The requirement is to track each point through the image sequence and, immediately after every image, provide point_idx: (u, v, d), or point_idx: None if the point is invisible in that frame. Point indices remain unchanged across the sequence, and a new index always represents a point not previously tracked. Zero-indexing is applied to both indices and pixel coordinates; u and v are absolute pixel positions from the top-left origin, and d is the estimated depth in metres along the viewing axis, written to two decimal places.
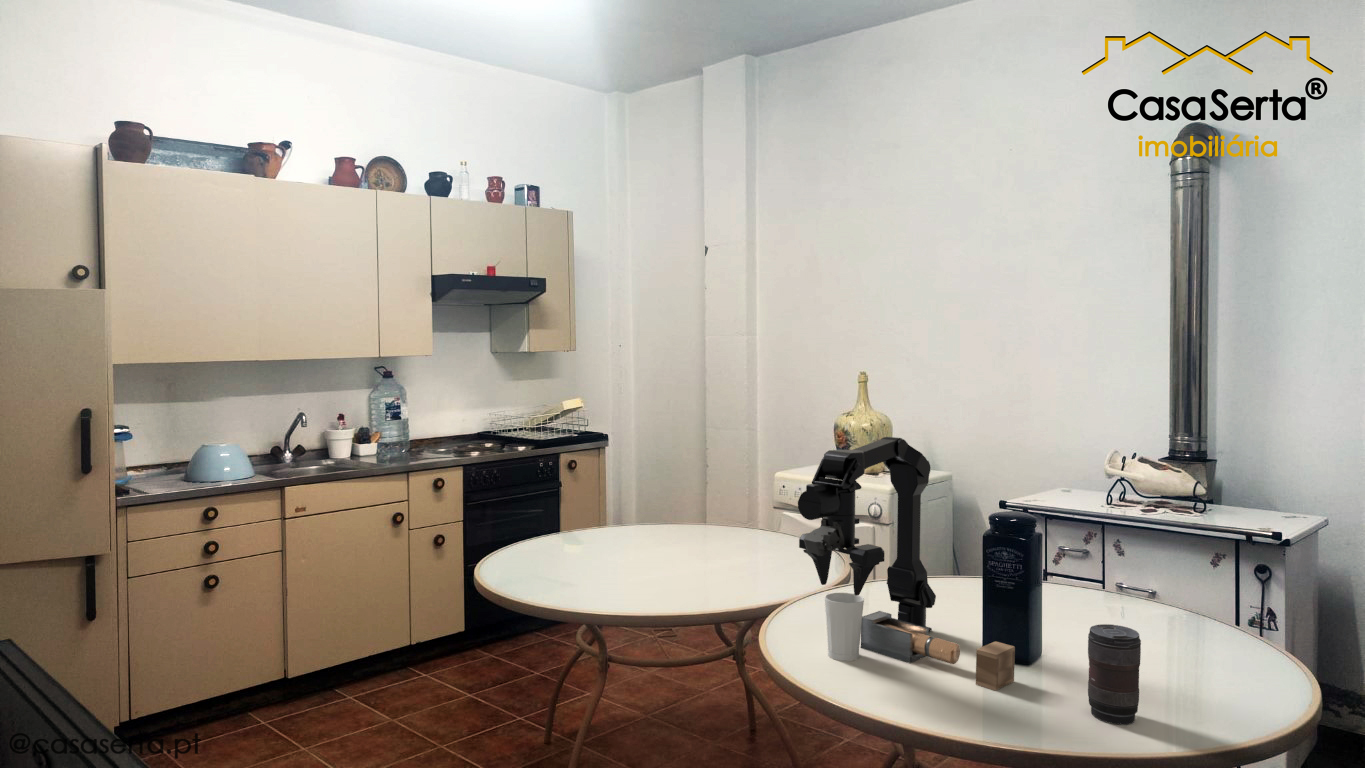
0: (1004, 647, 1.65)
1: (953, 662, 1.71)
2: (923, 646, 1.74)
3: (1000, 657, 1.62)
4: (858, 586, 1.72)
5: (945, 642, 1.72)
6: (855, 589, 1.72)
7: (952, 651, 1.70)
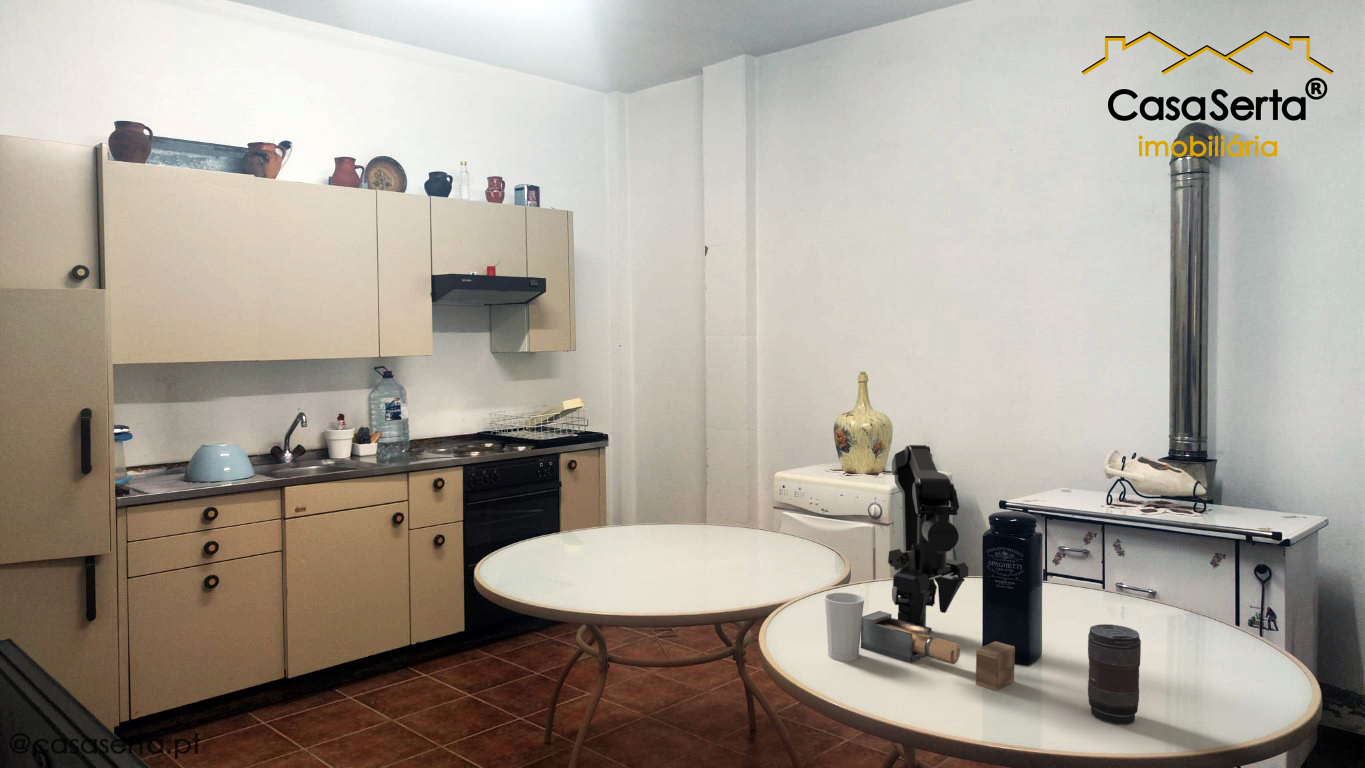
0: (1004, 647, 1.65)
1: (953, 662, 1.71)
2: (923, 646, 1.74)
3: (1000, 657, 1.62)
4: (913, 612, 1.72)
5: (945, 642, 1.72)
6: None
7: (952, 651, 1.70)
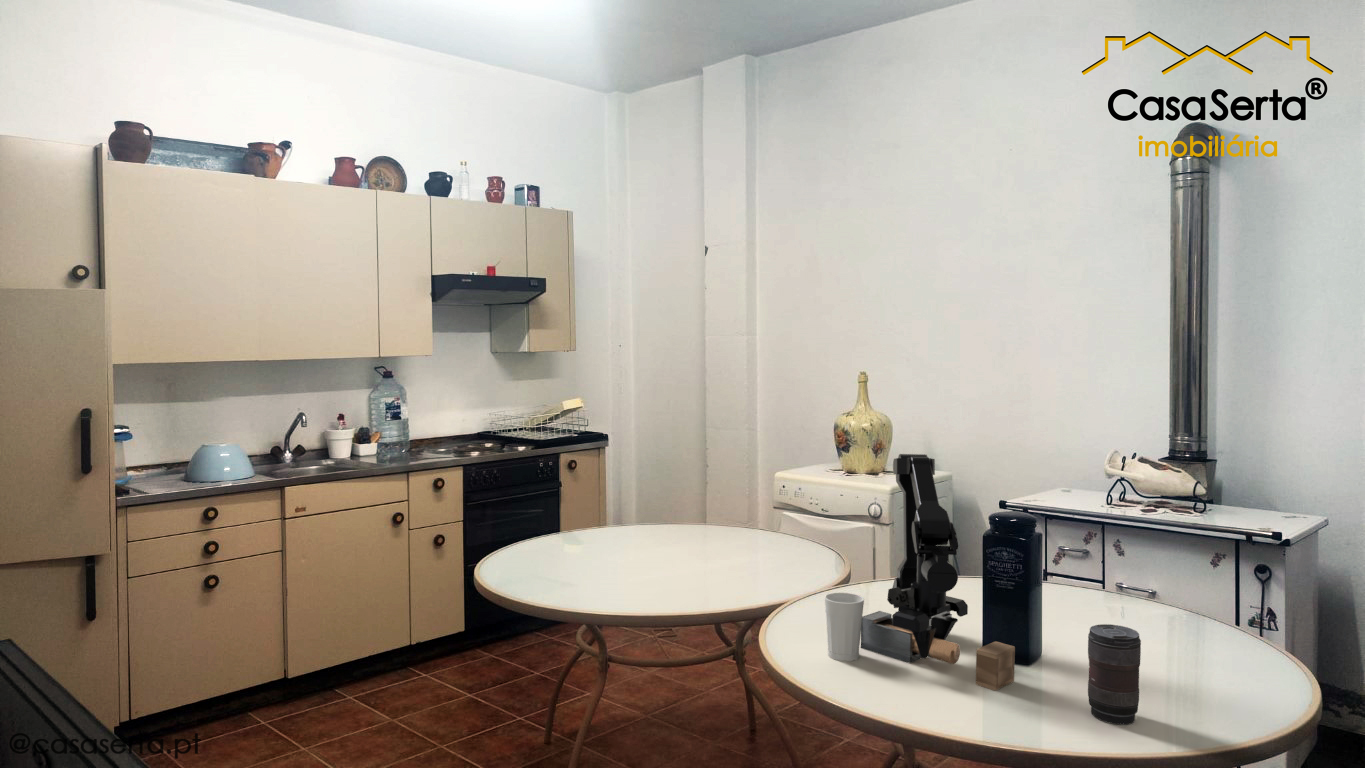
0: (1004, 647, 1.65)
1: (953, 662, 1.71)
2: None
3: (1000, 657, 1.62)
4: (920, 648, 1.73)
5: (945, 642, 1.72)
6: None
7: (952, 651, 1.70)
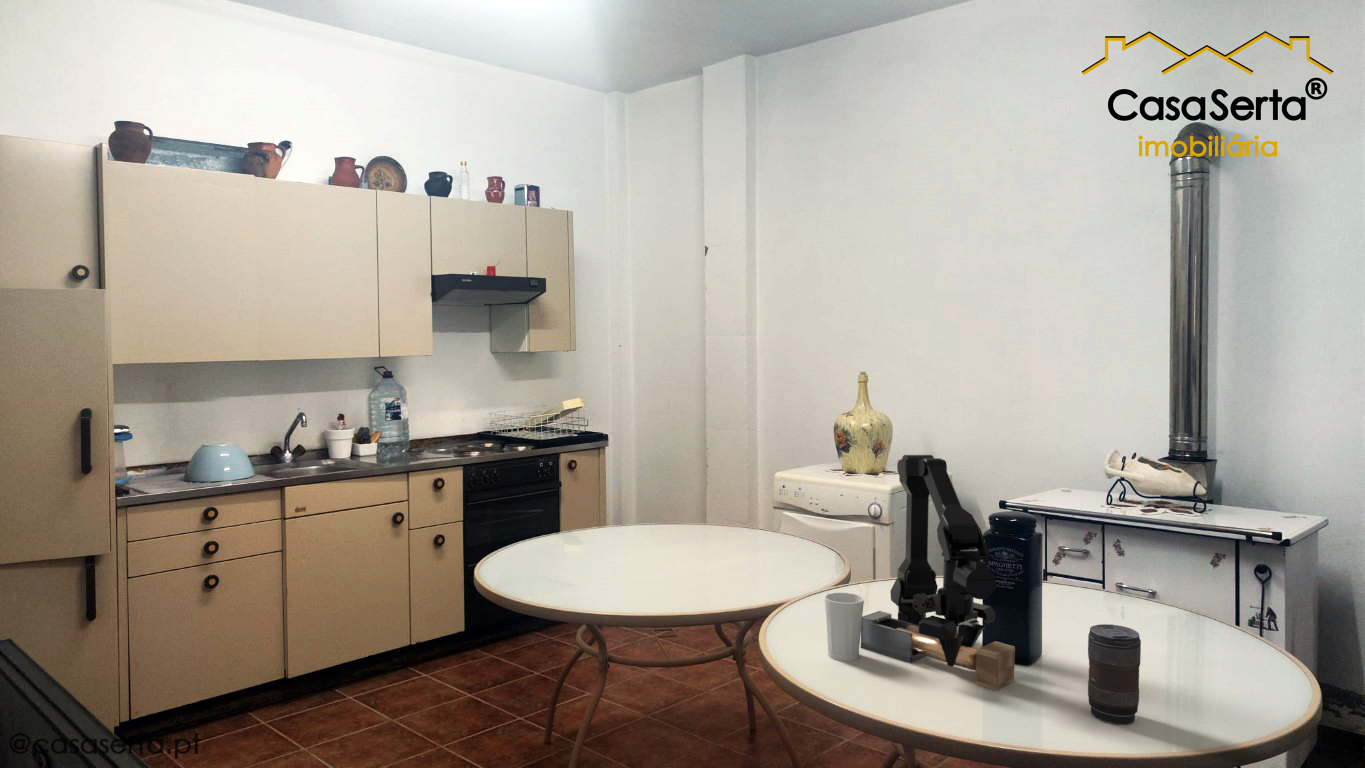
0: (1004, 647, 1.65)
1: None
2: None
3: (1000, 657, 1.62)
4: (946, 656, 1.69)
5: (972, 649, 1.68)
6: None
7: None
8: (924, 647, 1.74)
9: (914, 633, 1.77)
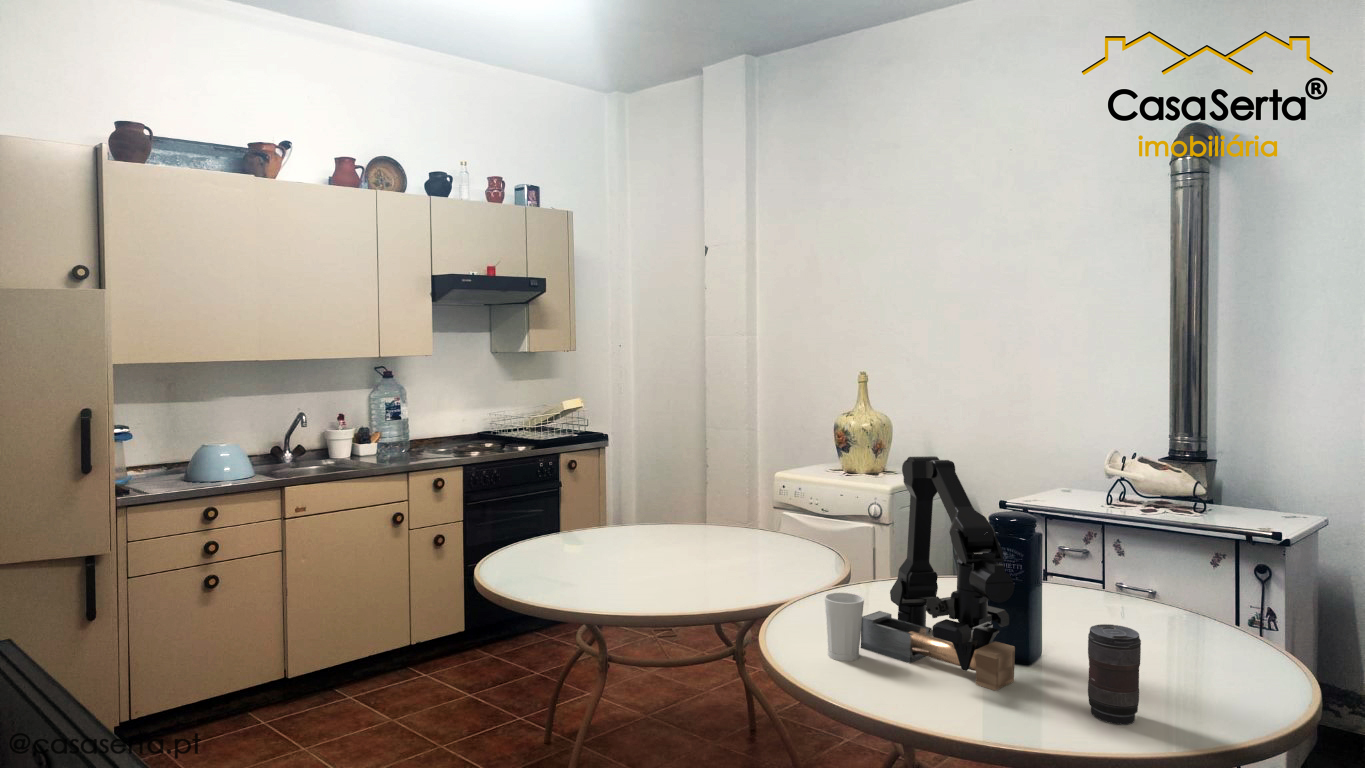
0: (1004, 647, 1.65)
1: None
2: None
3: (1000, 657, 1.62)
4: (960, 660, 1.67)
5: None
6: None
7: None
8: (937, 651, 1.72)
9: (927, 637, 1.75)
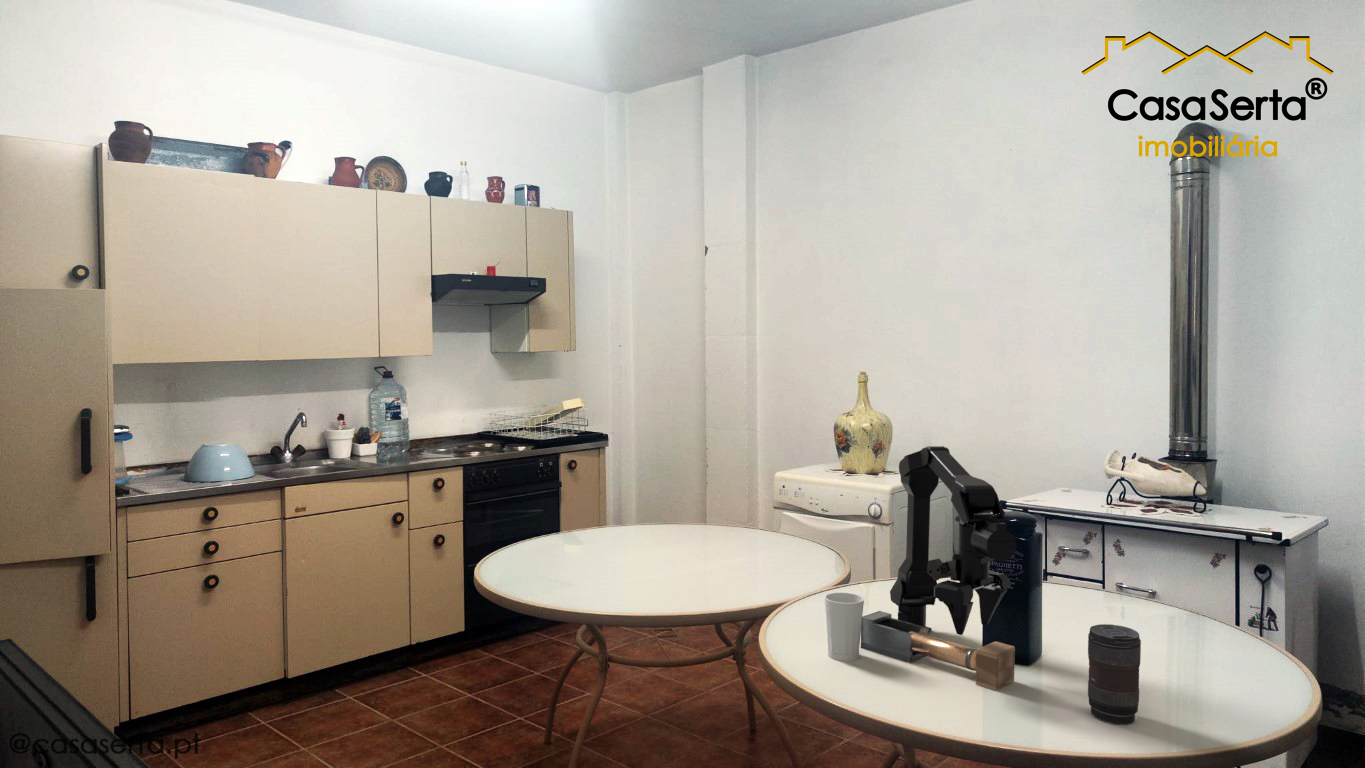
0: (1004, 647, 1.65)
1: None
2: (964, 658, 1.67)
3: (1000, 657, 1.62)
4: (955, 624, 1.65)
5: None
6: None
7: None
8: (937, 651, 1.72)
9: (927, 637, 1.75)
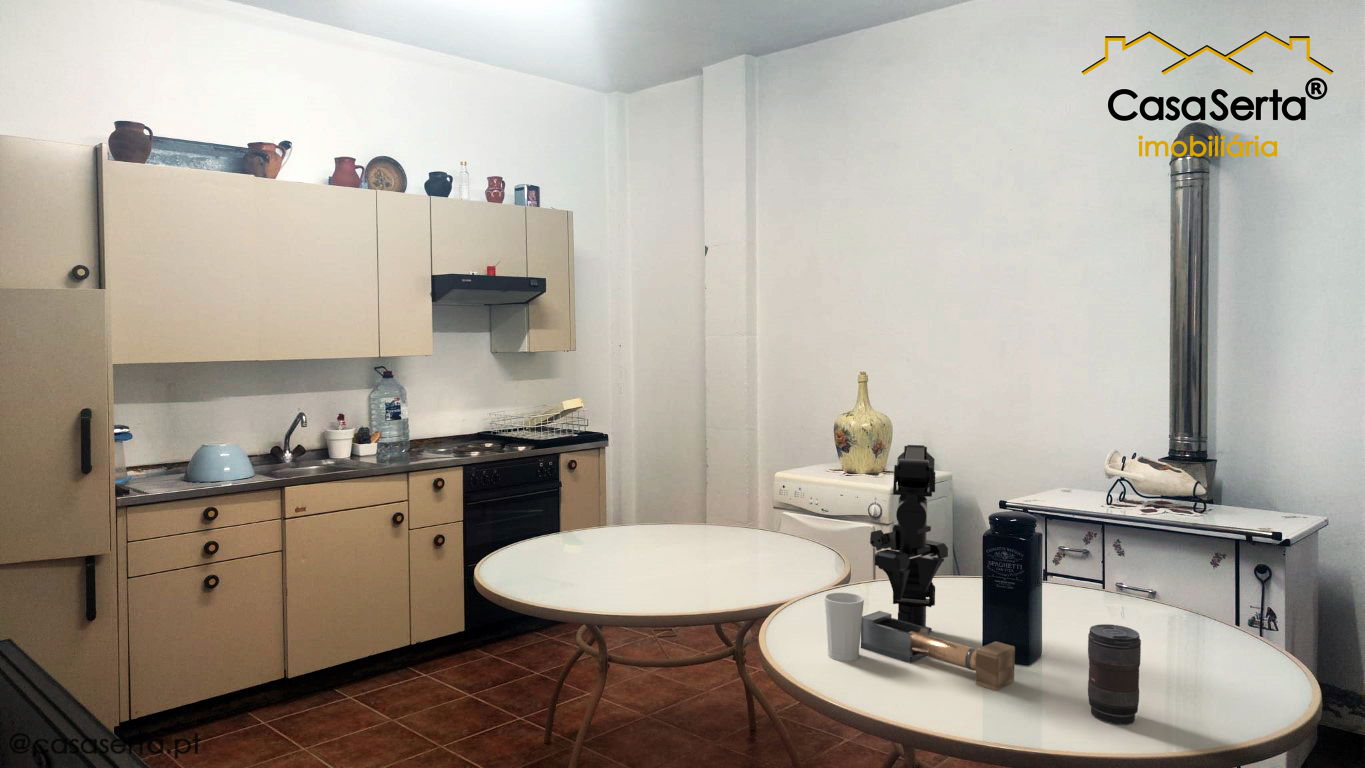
0: (1004, 647, 1.65)
1: None
2: (964, 658, 1.67)
3: (1000, 657, 1.62)
4: (894, 590, 1.77)
5: None
6: None
7: None
8: (937, 651, 1.72)
9: (927, 637, 1.75)
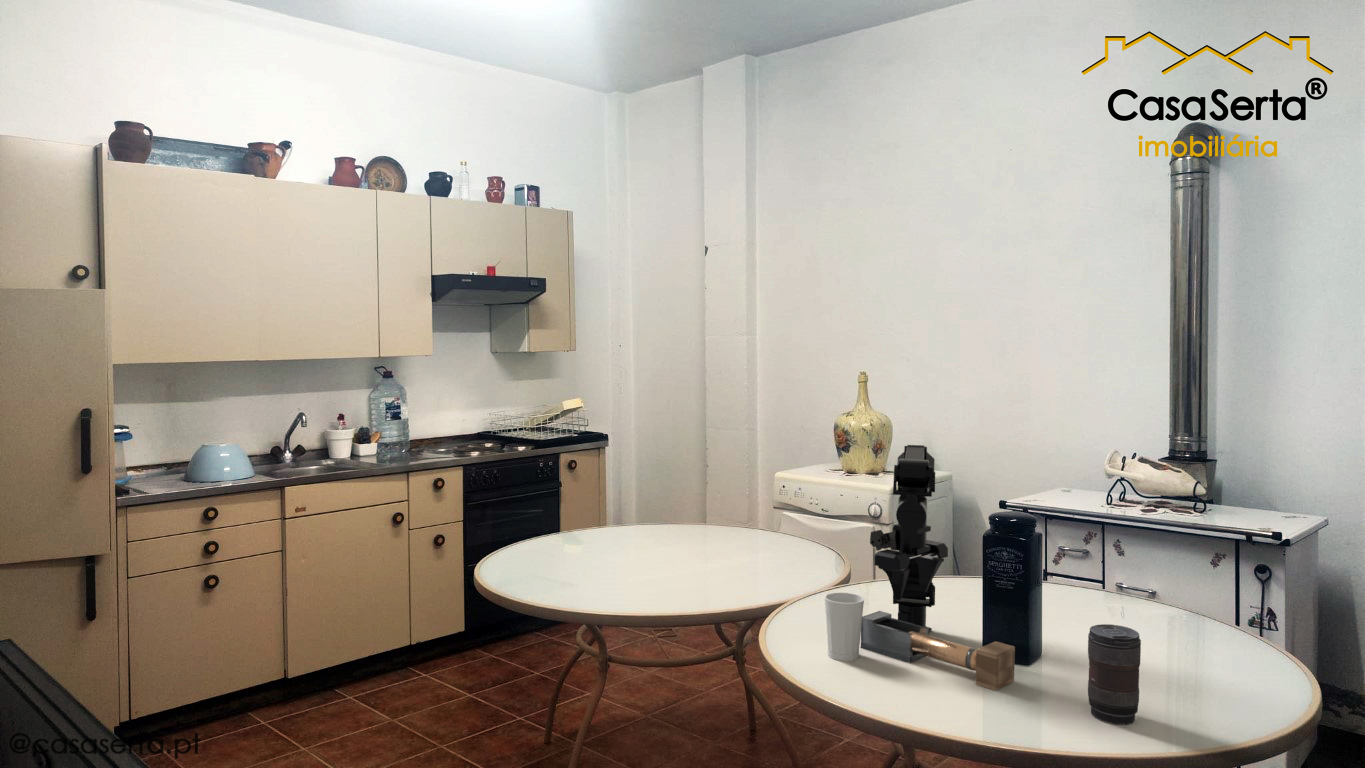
0: (1004, 647, 1.65)
1: None
2: (964, 658, 1.67)
3: (1000, 657, 1.62)
4: (894, 590, 1.77)
5: None
6: None
7: None
8: (937, 651, 1.72)
9: (927, 637, 1.75)
